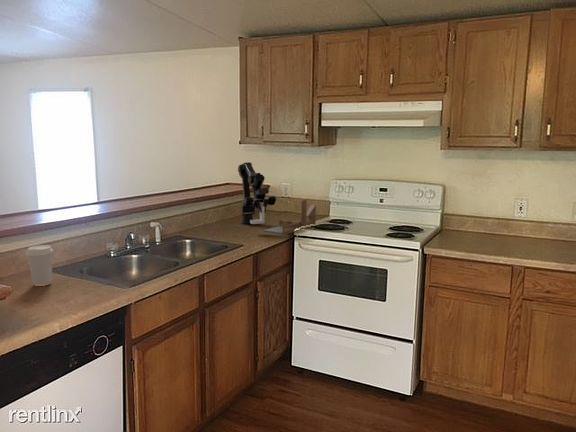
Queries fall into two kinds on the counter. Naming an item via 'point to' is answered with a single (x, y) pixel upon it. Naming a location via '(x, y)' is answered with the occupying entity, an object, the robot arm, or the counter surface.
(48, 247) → the coffee cup
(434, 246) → the counter surface
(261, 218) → the bracket
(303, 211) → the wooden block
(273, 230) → the mat
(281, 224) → the walls
